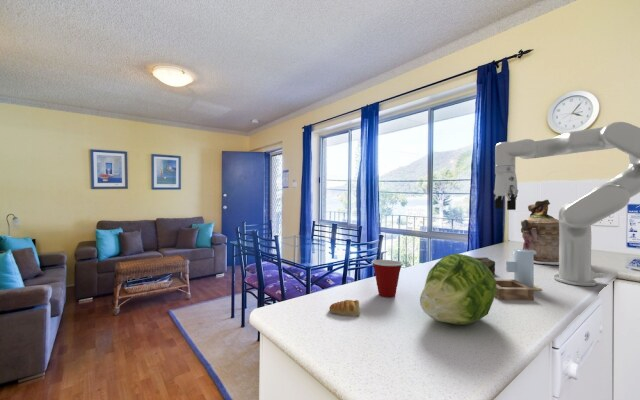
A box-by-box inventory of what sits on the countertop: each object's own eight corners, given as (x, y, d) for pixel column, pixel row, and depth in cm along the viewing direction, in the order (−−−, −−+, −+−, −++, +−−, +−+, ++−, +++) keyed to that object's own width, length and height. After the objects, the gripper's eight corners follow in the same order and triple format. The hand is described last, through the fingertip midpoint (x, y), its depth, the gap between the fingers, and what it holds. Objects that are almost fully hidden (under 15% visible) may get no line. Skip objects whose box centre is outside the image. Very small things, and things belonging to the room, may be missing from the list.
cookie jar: (568, 258, 153) (568, 198, 153) (579, 268, 132) (579, 199, 132) (512, 253, 166) (512, 198, 166) (514, 262, 146) (515, 199, 145)
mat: (528, 283, 112) (528, 281, 112) (542, 290, 104) (542, 288, 104) (506, 283, 112) (506, 281, 112) (518, 289, 104) (518, 288, 104)
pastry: (329, 317, 84) (329, 304, 84) (329, 308, 90) (329, 296, 90) (361, 317, 83) (361, 304, 83) (359, 308, 90) (359, 296, 90)
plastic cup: (405, 291, 104) (405, 259, 104) (400, 302, 94) (400, 266, 94) (375, 287, 109) (375, 256, 108) (368, 297, 99) (367, 262, 98)
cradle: (514, 288, 106) (514, 279, 105) (533, 300, 95) (533, 289, 95) (483, 288, 107) (483, 279, 106) (498, 299, 96) (498, 288, 96)
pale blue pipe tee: (540, 287, 105) (540, 252, 104) (512, 287, 106) (511, 252, 105) (530, 282, 111) (529, 249, 110) (503, 282, 112) (502, 249, 111)
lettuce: (399, 314, 85) (399, 260, 80) (449, 288, 96) (452, 238, 91) (456, 356, 70) (461, 291, 65) (508, 319, 81) (516, 261, 76)
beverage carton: (496, 275, 124) (496, 260, 124) (450, 274, 126) (450, 260, 125) (486, 270, 132) (486, 256, 132) (444, 270, 134) (444, 256, 133)
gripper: (526, 168, 117) (526, 210, 118) (503, 171, 134) (503, 208, 135) (507, 169, 118) (507, 210, 118) (486, 172, 135) (486, 208, 135)
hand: (504, 209), depth 126 cm, fingers open, 9 cm apart
